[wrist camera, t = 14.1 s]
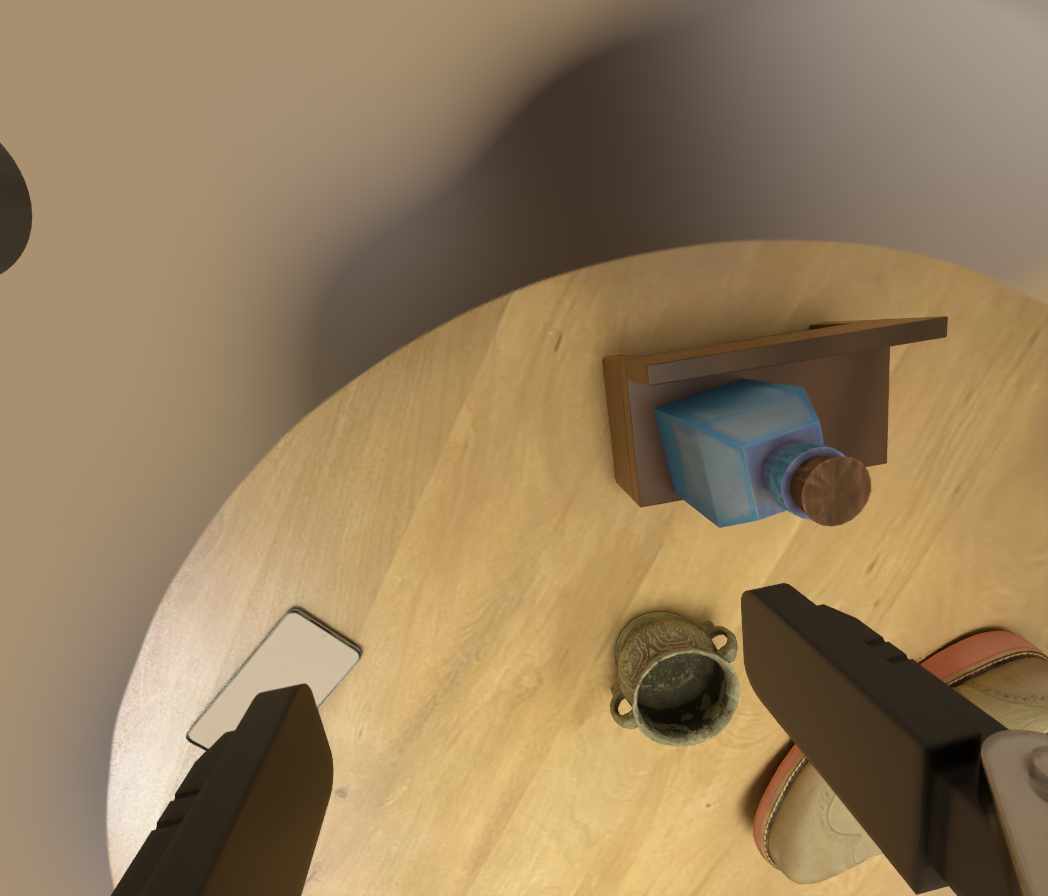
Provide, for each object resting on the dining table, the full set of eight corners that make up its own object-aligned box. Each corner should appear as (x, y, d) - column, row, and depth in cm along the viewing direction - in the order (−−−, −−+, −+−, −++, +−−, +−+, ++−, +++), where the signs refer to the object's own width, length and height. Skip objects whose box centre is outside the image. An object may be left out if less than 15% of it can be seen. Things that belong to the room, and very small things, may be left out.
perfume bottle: (760, 464, 33) (912, 531, 22) (675, 493, 33) (782, 577, 22) (741, 378, 32) (894, 400, 20) (653, 408, 32) (755, 448, 20)
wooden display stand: (615, 482, 39) (661, 530, 29) (602, 358, 37) (646, 365, 27) (827, 445, 40) (939, 479, 30) (827, 321, 38) (948, 316, 28)
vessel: (628, 718, 44) (652, 779, 38) (573, 653, 42) (590, 706, 36) (737, 643, 44) (779, 693, 37) (687, 573, 41) (723, 614, 35)
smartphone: (182, 738, 40) (291, 607, 38) (186, 733, 40) (294, 603, 39) (256, 779, 41) (364, 654, 40) (259, 773, 42) (366, 650, 40)
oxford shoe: (713, 791, 47) (788, 936, 36) (985, 588, 45) (1158, 674, 33) (774, 854, 50) (862, 1007, 38) (1034, 665, 47) (1210, 769, 36)
